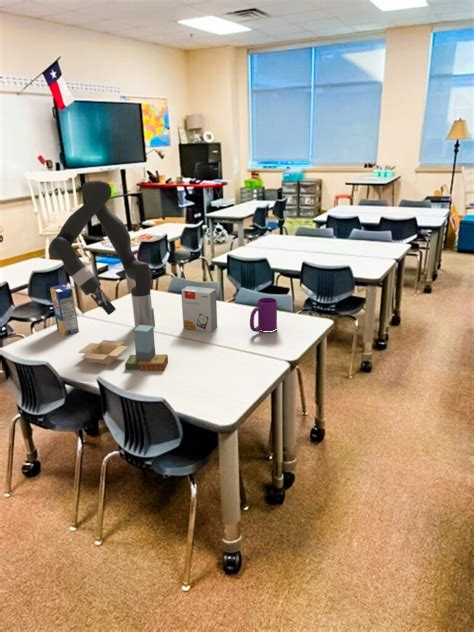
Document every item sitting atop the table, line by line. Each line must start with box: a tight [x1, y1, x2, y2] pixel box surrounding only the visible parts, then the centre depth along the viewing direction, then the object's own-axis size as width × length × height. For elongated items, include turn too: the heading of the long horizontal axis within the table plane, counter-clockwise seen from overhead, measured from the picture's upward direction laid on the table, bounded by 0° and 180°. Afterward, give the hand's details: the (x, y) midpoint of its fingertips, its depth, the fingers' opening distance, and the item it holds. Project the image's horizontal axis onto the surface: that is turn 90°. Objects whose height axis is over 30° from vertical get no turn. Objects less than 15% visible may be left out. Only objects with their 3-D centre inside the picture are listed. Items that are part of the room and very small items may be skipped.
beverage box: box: [49, 284, 80, 336], centre depth 230 cm, size 7×11×22 cm, turn 39°
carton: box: [124, 353, 169, 372], centre depth 194 cm, size 8×16×4 cm, turn 87°
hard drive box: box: [180, 285, 218, 333], centre depth 229 cm, size 16×8×20 cm, turn 68°
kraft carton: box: [78, 339, 129, 365], centre depth 201 cm, size 18×18×5 cm
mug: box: [249, 297, 278, 333], centre depth 223 cm, size 9×16×15 cm, turn 131°
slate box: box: [133, 325, 156, 361], centre depth 191 cm, size 6×6×13 cm
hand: (112, 312), depth 192 cm, fingers open, 8 cm apart
